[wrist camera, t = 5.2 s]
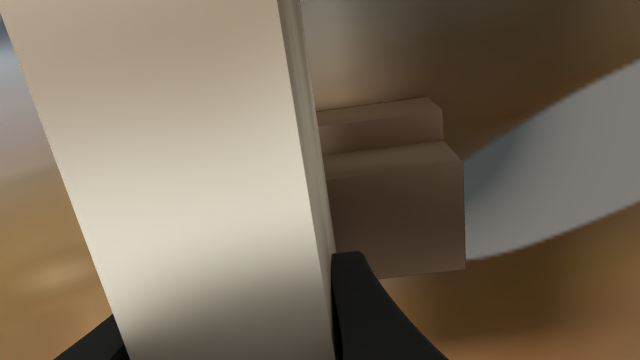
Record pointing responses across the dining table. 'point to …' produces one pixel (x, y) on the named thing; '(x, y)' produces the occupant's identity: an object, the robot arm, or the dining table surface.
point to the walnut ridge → (394, 187)
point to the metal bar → (190, 169)
